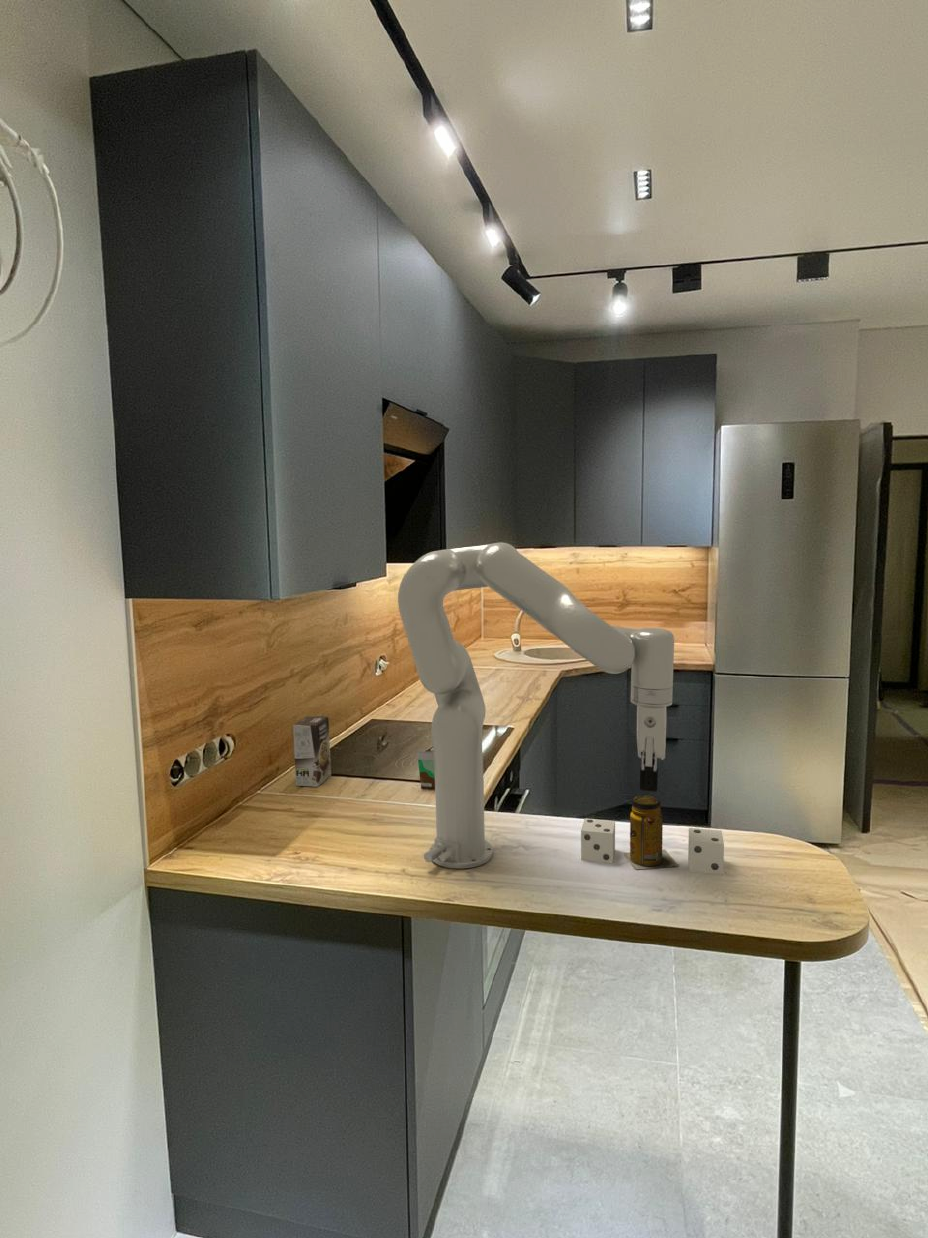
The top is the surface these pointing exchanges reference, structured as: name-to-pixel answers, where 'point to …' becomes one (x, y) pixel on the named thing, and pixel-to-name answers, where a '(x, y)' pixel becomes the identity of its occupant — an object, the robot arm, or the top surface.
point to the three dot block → (598, 840)
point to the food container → (426, 768)
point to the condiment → (647, 835)
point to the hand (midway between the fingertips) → (648, 789)
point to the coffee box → (312, 751)
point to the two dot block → (706, 851)
